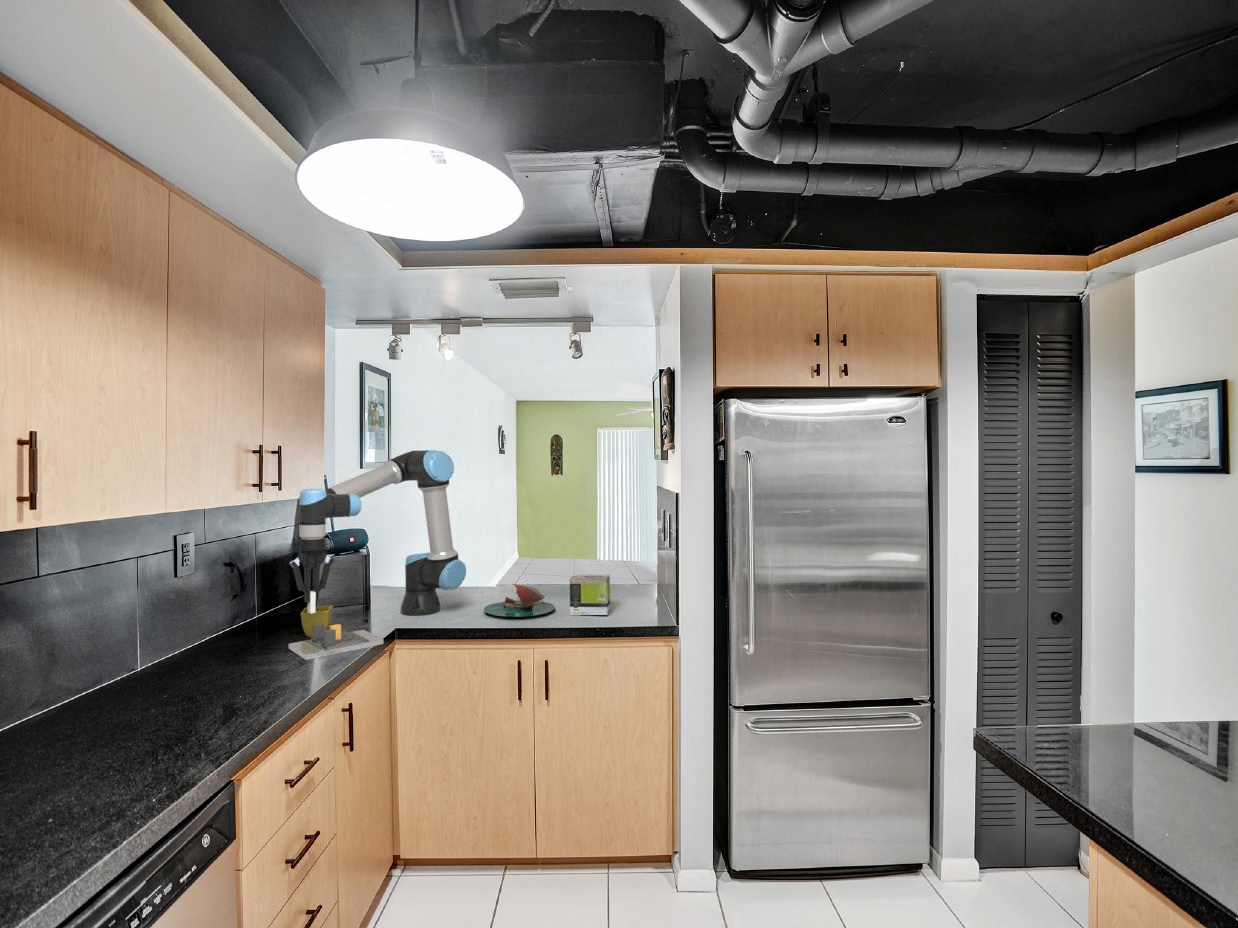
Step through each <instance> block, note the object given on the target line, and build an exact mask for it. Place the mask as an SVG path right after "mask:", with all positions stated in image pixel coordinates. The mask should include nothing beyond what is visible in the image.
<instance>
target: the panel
mask: <svg viewBox="0 0 1238 928" xmlns="http://www.w3.org/2000/svg"><path fill="white" fill-rule="evenodd" d="M380 645H384V638H382V637H379V636H377V635H376V634H373V633H372V632H369V631H367V630H365V629H361V630H355V631H350V632H347V630H343V631H342V630H341V639H338V640H336V644H335V645H330V646H326V648H325V647H324V638H321V639H315V641H313V640H312V637H310V639H307V640H301V641H297V642H291V643H288V649H289V650H290V651H292V652H293V653H295V654H296V655H298V656H300V657H301V658H302V659H304V660H305V661H306V660H308V661H309V660H312V659H317V658H322V657H327V656H331V655H336V654H342V653H346V652H351V651H355V650H361V649H366V648H369V647H374V646H375V647H376V646H380Z"/></svg>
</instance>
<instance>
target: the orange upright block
mask: <svg viewBox="0 0 1238 928" xmlns="http://www.w3.org/2000/svg"><path fill="white" fill-rule="evenodd" d="M331 629H334V630H336V640H338V639H341V632H342V625H341V624H340V623H337V624H332V625H331V624H330V626H329V628H328V630H331Z"/></svg>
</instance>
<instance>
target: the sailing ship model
mask: <svg viewBox="0 0 1238 928" xmlns="http://www.w3.org/2000/svg"><path fill="white" fill-rule="evenodd" d="M513 585H514V587H515V588H516V594H517V596H518V598H519V599H513V598H511V597H507V596H505V600H504V601H500V602H495V603H491V604H488V605H486V606H485V607H484V608H483V611H484V612H485V613H487V614H490V615H493V616H499V617H510V618H511V617H512V618H513V617H514V618H515V617H516V618H517V617H519V618H520V617H532V616H540V615H543V614H548V613H550V612H552V611H553V610H555V607H556V606H555V605H554V604H553V603H552V602H551V603H550V602H548V601H547V602H546V601H544V599H545V598H546V596H545V594H543V593H541V591H539V589H538V588H535V587H532V586H527V585H522V584H515V583H513ZM511 589H512V591H513V588H511Z"/></svg>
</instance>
